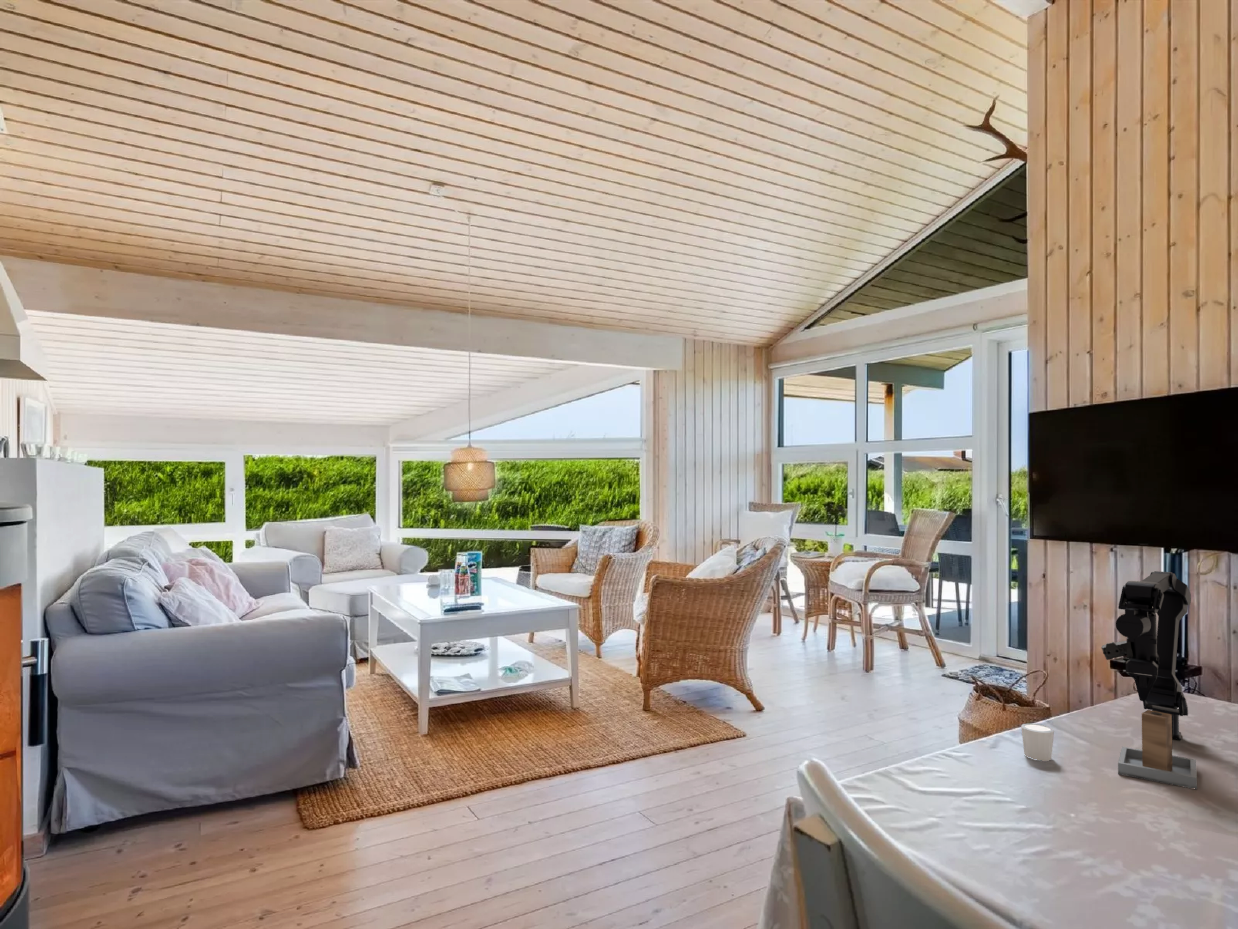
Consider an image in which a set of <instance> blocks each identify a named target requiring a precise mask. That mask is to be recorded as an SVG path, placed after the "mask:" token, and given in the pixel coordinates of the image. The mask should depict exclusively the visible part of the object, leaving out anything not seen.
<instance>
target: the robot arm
mask: <svg viewBox="0 0 1238 929" xmlns="http://www.w3.org/2000/svg"><path fill="white" fill-rule="evenodd" d="M1191 602H1192V595H1191V592H1190V589H1189V586H1188V585H1187V584H1186V583H1184V582H1183V581H1181V580H1180V579H1178V577H1177V576H1176V574H1175V573H1173V572H1171V571H1170V572H1169V571H1160V570H1159V571H1158V570H1156V571H1151V572H1150V575H1149V576H1146V577H1144V579H1142V580H1140V581H1139V580H1128V581H1126V582H1125V585H1122V588H1121V594H1120V597H1119V603H1118V607H1117V608H1118V609H1119V610H1124V614H1121V615H1120V616H1118V617H1117V619H1116V621H1115V628H1116V630H1117V632H1118V633H1119V634H1120V635H1121V636H1123V637H1125V638H1126V640H1124V641H1123V640H1122V641H1117V642H1114V641H1111V642H1106V643H1105V644H1103V645H1101V651H1102V654H1103V655H1104V658H1105V660H1106V661H1110V660H1113V659H1116V658H1121V657H1126V659H1128V660H1127V661H1126V662H1125V672H1126V674H1127V675H1129V676H1130V677H1131V678H1132V679H1133V680H1134V683H1135V687H1136V691H1137V695H1138V698H1139V701H1140V702H1142V704H1143V710H1151V711H1156V712H1161V713H1166V714H1171V715H1172V740H1179V741H1181V740H1182V732H1181V731H1180V717H1183V716H1187V717H1188V716H1189V709H1188V708H1189V707H1188V703H1187V699H1186V697H1185V695H1184V692H1183V688H1182V685H1181V683H1180V681H1179V679H1178V678H1177V676H1176V669H1177V668H1176V667H1177V655H1178V654H1177V652H1178V651H1177V650H1178V641H1179V639H1178V638H1179V626H1180V621H1181V619H1182V618H1183V617H1184V616H1186V614H1187V613H1188V610H1189V606H1190V605H1191ZM1157 618H1158V619H1157Z"/></svg>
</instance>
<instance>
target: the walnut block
mask: <svg viewBox="0 0 1238 929" xmlns="http://www.w3.org/2000/svg"><path fill="white" fill-rule="evenodd" d="M1141 747H1142V748H1141V750H1142V766H1144V767H1149V768H1155V769H1160V770H1165V771H1170V772H1171V771H1172V770H1173V769H1172V755H1173V739H1172V715H1171V714H1166V713H1161V712H1156V711H1152V710H1149V709H1146V711H1143V712H1142V713H1141Z"/></svg>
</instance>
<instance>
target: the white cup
mask: <svg viewBox="0 0 1238 929" xmlns="http://www.w3.org/2000/svg"><path fill="white" fill-rule="evenodd" d="M1020 728H1021V736H1022V744H1023V754H1025V755H1026V756H1028V757H1031V758H1033V759H1037V760H1042V761H1041V762H1050V761H1049V760H1051V761H1052V759H1053V758H1052V757H1053V756H1052V755H1053V747H1054V736H1055V729H1053V728H1052V727H1050V726H1047V725H1043V724H1038V723H1022V724H1021V725H1020ZM1025 755H1024V756H1025Z"/></svg>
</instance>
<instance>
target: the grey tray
mask: <svg viewBox="0 0 1238 929" xmlns="http://www.w3.org/2000/svg"><path fill="white" fill-rule="evenodd" d="M1119 753H1120V754H1119V756H1118V757H1119V758H1118V761H1117V774H1118V775H1120V776H1121V775H1122V776H1127V777H1131V778H1136V779H1140V780H1147V781H1151V782H1156V783H1162V784H1166V785H1170V784H1173V785H1172V786H1175V785H1179V786H1178V787H1180V786H1184V787H1183V788H1186V787H1188V788H1187V789H1191V788H1195V789H1194V790H1196V789H1197V790H1198V776H1197V759H1195V758H1189V757H1184V756H1178V755H1173V754H1172V769H1173V770H1172V771H1171V772H1170V771H1165V770H1160V769H1155V768H1149V767H1144V766H1142V749H1140V748H1133V747H1128V746H1123V745H1122V746H1121V749H1120V752H1119Z"/></svg>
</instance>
